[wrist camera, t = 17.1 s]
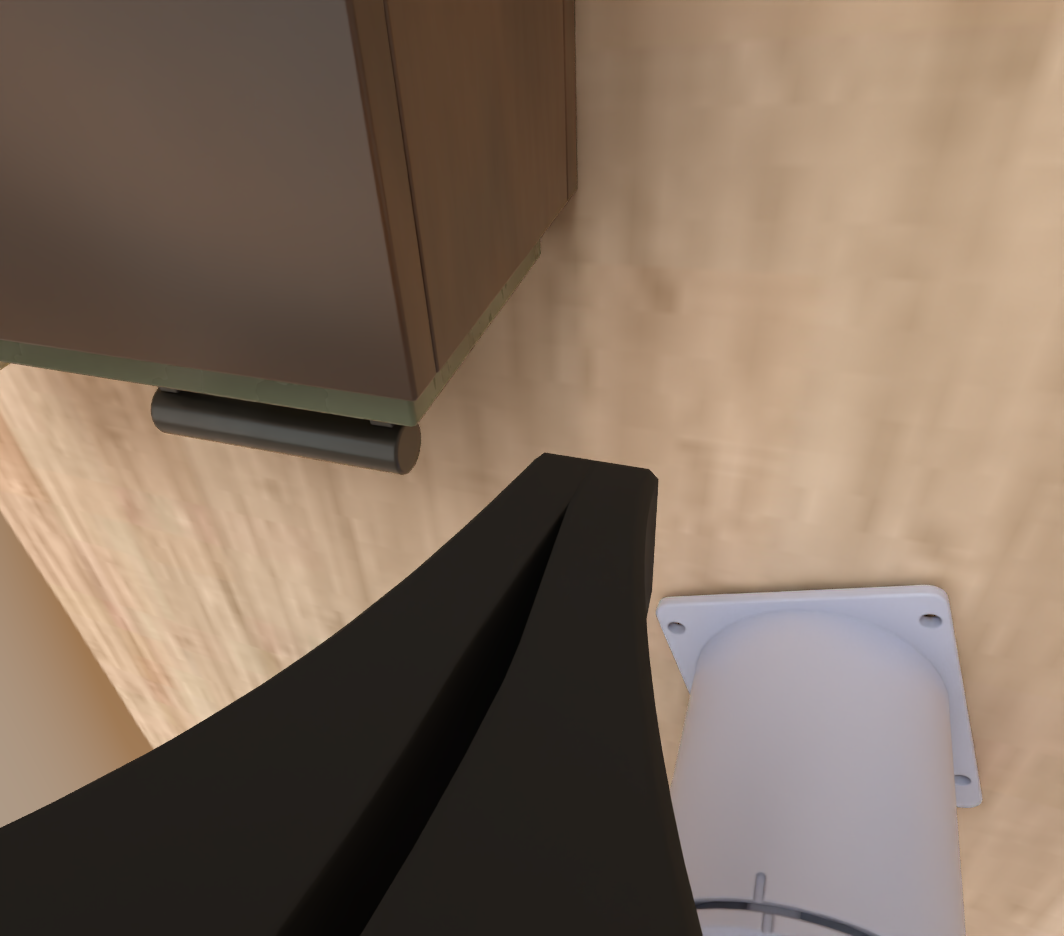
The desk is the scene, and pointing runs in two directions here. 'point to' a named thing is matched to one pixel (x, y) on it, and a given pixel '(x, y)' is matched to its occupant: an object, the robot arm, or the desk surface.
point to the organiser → (277, 178)
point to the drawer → (277, 402)
